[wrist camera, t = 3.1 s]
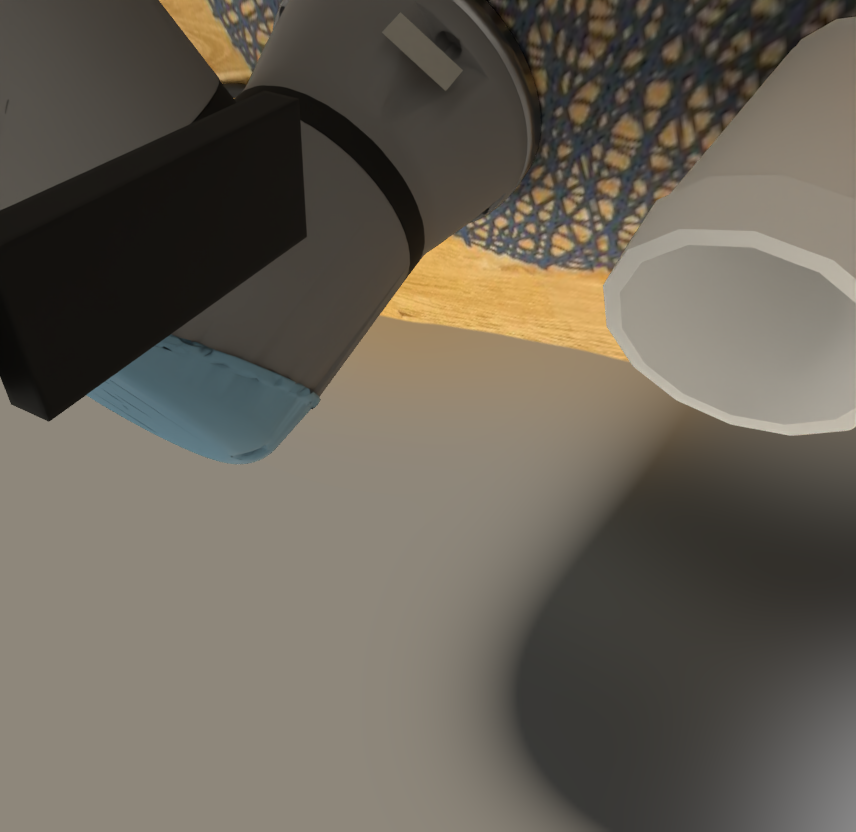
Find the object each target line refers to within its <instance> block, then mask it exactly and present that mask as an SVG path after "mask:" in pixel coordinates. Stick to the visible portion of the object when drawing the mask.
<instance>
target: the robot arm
mask: <svg viewBox="0 0 856 832" xmlns="http://www.w3.org/2000/svg"><path fill="white" fill-rule="evenodd" d="M234 98H235V99H234ZM540 131H541V116H540V106H539V99H538V95H537V91H536V87H535V83H534V80H533V77H532V74H531V71H530V69H529V67H528V64H527V62H526V59H525V57H524V55H523V53H522V51H521V49H520V47H519V46H518V44H517V42H516V40H515V39H514V37H513V35H512V34H511V32H510V31H509V29H508V27H507V26H506V25H505V23H504V22H503V21H502V19H501V18H500V17H499V15H498V14H497V13H496V12H495V10H494V9H493V8H492V7H491V6H490V4H489V3H488V2H487V1H486V0H282V2H281V4H280V7H279V10H278V13H277V15H276V17H275V21H274V25H273V31H272V33H271V35H270V37H269V39H268V41H267V43H266V45H265V47H264V49H263V52H262V54H261V56H260V58H259V60H258V62H257V64H256V66H255V68H254V71H253V73H252V75H251V77H250V79H249V82H248V84H247V85H245V84H238V83H227V84H222V83H221V81H220V79H219V78H218V76H217V75H216V74H215V73H214V71H213V70H212V69H211V67H210V66H209V65H208V64H207V62H206V61H205V60H204V58H203V57H202V56H201V54H200V53H199V52H198V51H197V49H196V48H195V47H194V45H193V44H192V43H191V42H190V40H189V39H188V38H187V36H186V35H185V34H184V33H183V31H182V30H181V29H180V27H179V26H178V25H177V24H176V22H175V21H174V20H173V18H172V17H171V16H170V14H169V13H168V12H167V11H166V9H165V8H164V7H163V5H162V4H161V3H160V2H159V0H0V377H1V379H2V382H3V385H4V387H5V389H6V392H7V394H8V397H9V400H10V402H11V404H12V405H14V406H16V407H18V408H21V409H23V410H25V411H27V412H29V413H32V414H34V415H36V416H38V417H40V418H42V419H45V420H47V421H50V420H52V419H53V418H55V417H56V416H57V415H59V414H60V413H62V412H63V411H64V410H66V409H67V408H69V407H70V406H71V405H73V404H74V403H75V402H77V401H78V400H80V399H81V398H83V397H84V396H85V395H87V396H89V397H90V398H92V399H94V400H95V401H97V402H98V403H100V404H101V405H103V406H105V407H106V408H108V409H110V410H112V411H113V412H115V413H117V414H119V415H120V416H122V417H124V418H125V419H127V420H129V421H131V422H133V423H135V424H136V425H138V426H140V427H142V428H144V429H145V430H147V431H149V432H151V433H153V434H155V435H157V436H159V437H161V438H163V439H165V440H167V441H170V442H171V443H173V444H176V445H178V446H180V447H182V448H185V449H187V450H189V451H192V452H194V453H196V454H199V455H201V456H204V457H207V458H210V459H213V460H216V461H220V462H224V463H230V464H248V463H252V462H255V461H258V460H261V459H263V458H265V457H266V456H268V455H269V454H270V453H272V451H274V450H275V449H276V448H277V447H278V445H279V444H280V443H281V442H282V441H283V440H284V439H285V438H286V436H287V435H288V434H289V433H290V432H291V431H292V430H293V428H294V427H295V426H296V425H297V424H298V423H299V422H300V421H301V420H302V418H303V417H304V416H305V415H306V414H307V413H308V412H309V411H310V409H313V408H315V407H316V406H317V405H318V403H319V402H320V398H319V397H320V395H321V394H322V393H323V391H324V390H325V388H326V387H327V386H328V384H329V383H330V382H331V380H332V378H333V377H334V376H335V375H336V373H337V372H338V371H339V369H340V368H341V367H342V365H343V364H344V362H345V361H346V360H347V358H348V357H349V355H350V354H351V353H352V352H353V350H354V349H355V347H356V346H357V345H358V343H359V342H360V341H361V339H362V338H363V336H364V335H365V334H366V332H367V331H368V330H369V328H370V327H371V326H372V324H373V323H374V321H375V320H376V319H377V317H378V316H379V315H380V313H381V312H382V311H383V309H384V308H385V307H386V305H387V304H388V302H389V301H390V300H391V298H392V297H393V296H394V294H395V293H396V292H397V290H398V289H399V287H400V286H401V285H402V283H403V282H404V281H405V279H406V278H407V277H408V275H409V274H410V273H411V271H412V270H413V269H414V267H415V266H416V265H417V263H418V262H419V261H420V259H421V258H422V257H423V256H424V255H425V254H426V253H427V252H429V251H430V250H432V249H433V248H435V247H436V246H437V245H439V244H440V243H442V242H443V241H444V240H446V239H447V238H448V237H450V236H451V235H453V234H454V233H455V232H457V231H458V230H460V229H461V228H463V227H464V226H465V225H467V224H468V223H470V222H473V221H476V220H478V219H480V218H482V217H484V216H485V215H487V214H489V213H490V212H492V211H493V210H495V209H496V208H497V207H498V206H499V205H500V204H501V203H503V202H504V201H505V200H506V199H507V198H508V197H509V196H510V195H511V194H512V193H513V191H514V190H515V189H516V187H517V186H518V185H519V183H520V182H521V180H522V179H523V178H524V176H525V175H526V173H527V172H528V170H529V169H530V167H531V165H532V163H533V161H534V159H535V156H536V153H537V150H538V146H539V140H540Z"/></svg>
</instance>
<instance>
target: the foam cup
mask: <svg viewBox="0 0 856 832" xmlns="http://www.w3.org/2000/svg"><path fill="white" fill-rule="evenodd" d="M603 290H604V301H605V312H606V323H607V328H608V329H609V331H610V332H611V334H612V335H613V337H614V338H615V340H616V341H617V343H618V344H619V346H620V347H621V349H622V350H623V352H624V353H625V355H626V356H627V358H628V360H629V361H630V363H631V364H632V366H633V367H635V368H636V369H637V370H638V371H640V372H641V373H642V374H644V375H645V376H646V377H647V378H649V379H650V380H651V381H653V382H654V383H655V384H656V385H658V386H659V387H660V388H661V389H663V390H664V391H665V392H666V393H668V394H669V395H670V396H671V397H673V398H674V399H675V400H677V401H679V402H681V403H684V404H686V405H688V406H691V407H693V408H695V409H697V410H699V411H702V412H704V413H706V414H709V415H711V416H713V417H715V418H717V419H720V420H722V421H724V422H726V423H728V424H731V425H736V426H742V427H747V428H753V429H758V430H764V431H768V432H774V433H779V434H784V435H790V436H793V435H804V434H815V433H826V432H838V431H849V430H851V429H853V428H855V427H856V17H849V18H841V19H836V20H834V21H832V22H830V23H829V24H827V25H825V26H823V27H822V28H820V29H818V30H816V31H815V32H813V33H811V34H810V35H808V36H806V37H804V38H803V39H801V40H800V41H799V43H798V44H797V45H796V47H794V48H793V49H792V50H791V51H790V52H789V53H788V55H787V56H786V57H785V58H784V59H783V61H782V62H781V63H780V64H779V65H778V66H777V68H776V69H775V70H774V71H773V72H772V74H771V75H770V76H769V77H768V78H767V79H766V81H765V82H764V83H763V84H762V85H761V87H760V88H759V89H758V90H757V91H756V93H755V94H754V95H753V96H752V97H751V98H750V100H749V101H748V102H747V103H746V104H745V106H744V107H743V108H742V109H741V110H740V111H739V113H738V114H737V115H736V116H735V117H734V119H733V120H732V121H731V122H730V123H729V125H728V126H727V127H726V128H725V129H724V130H723V132H722V133H721V134H720V135H719V136H718V138H717V139H716V140H715V141H714V142H713V144H712V145H711V146H710V147H709V148H708V149H707V151H706V152H705V153H704V154H703V155H702V157H701V158H700V159H699V160H698V161H697V162H696V164H695V165H694V166H693V167H692V168H691V170H690V171H689V172H688V173H687V174H686V176H685V177H684V178H683V179H682V180H681V181H680V183H679V184H678V185H677V186H676V187H675V189H674V190H673V191H672V192H671V193H670V194H669V195H667V196H665V197H663V198H661V199H658V200H657V201H656V202H655V204H654V205H653V207H652V208H651V210H650V211H649V213H648V214H647V216H646V217H645V219H644V220H643V222H642V223H641V225H640V226H639V228H638V229H637V231H636V232H635V234H634V235H633V237H632V239H631V240H630V242H629V244H628V245H627V247H626V248H625V250H624V252H623V253H622V255H621V257H620V258H619V260H618V262H617V263H616V265H615V267H614V268H613V270H612V272H611V273H610V275H609V277H608V278H607V280H606V282H605V283H604V285H603Z"/></svg>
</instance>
